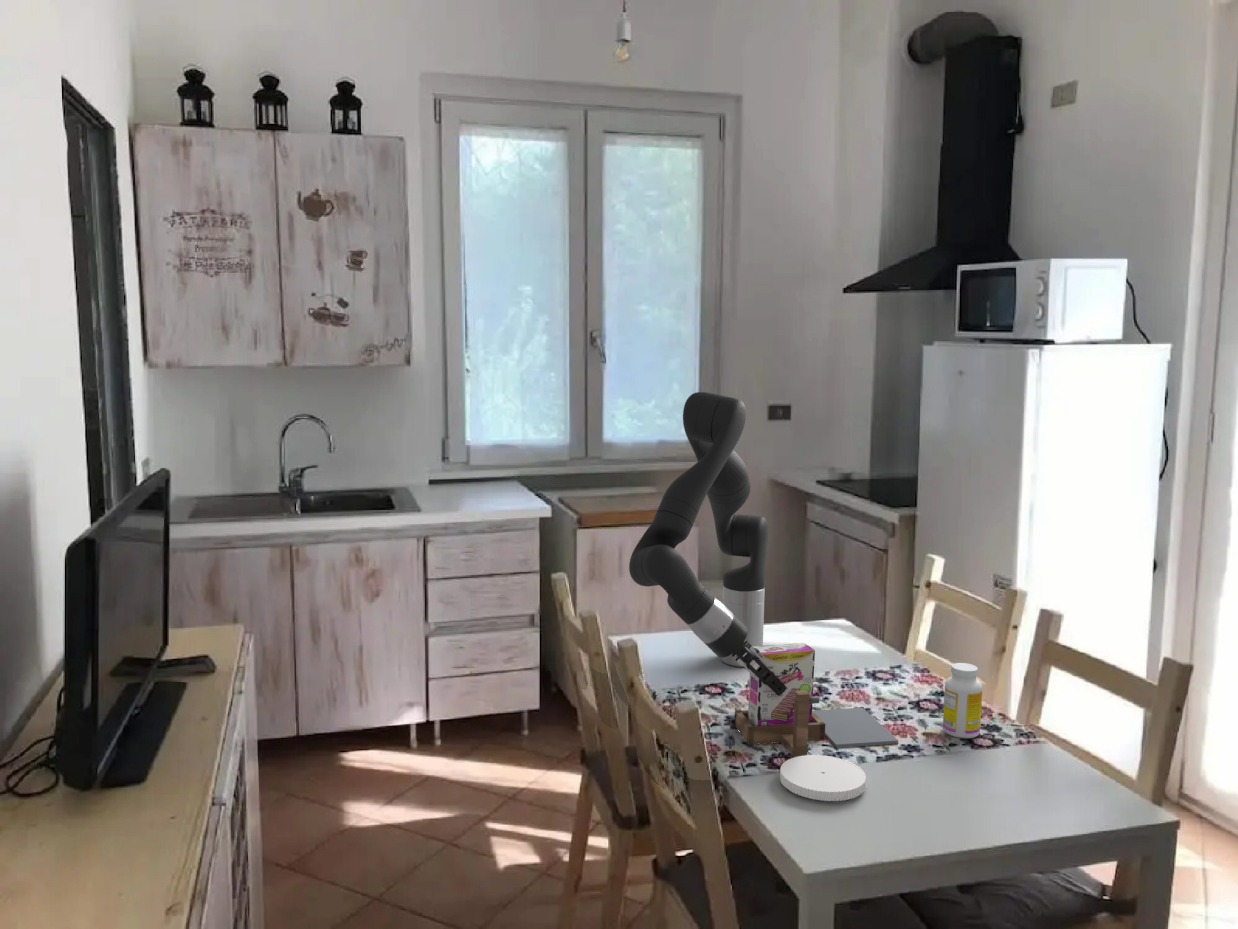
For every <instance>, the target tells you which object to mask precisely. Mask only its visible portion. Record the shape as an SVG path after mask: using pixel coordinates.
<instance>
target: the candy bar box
mask: <svg viewBox="0 0 1238 929" xmlns="http://www.w3.org/2000/svg"><path fill="white" fill-rule="evenodd" d="M753 648H754V649H755V650H756V653H757V654H758V655H759V656H760V657H761V658H762V659H763V660H764V661H765V662H766V666H767V667H768V668H769V669H770V670H771V671H773V672H774V673H775V676H776V677H777V678H778V679H779V680H780V681H781V682H782V683H783V684H784V685H785V686H786V690H785V691H784V692H783V693H782V694H781V695H780V696H778V695H777V694H776V693H775V692H774V691H773V690H772V689H771V688H770V687H769V686H768V685H765V684H763V683H762V681H761V680H760V679H759V678H758V677H757V676H753V675H752V674H751V673H750V672H749V688H748V691H749V692H748V710H749V711H748V721H749V723H750V724H751V725H752V726H768V725H784V724H793V723H794V697H795V691H799V690H806V691H807V692H808V693H809V694H810V697H814V680H815V679H814V675H815V658H816V657H815V656H816V649H814V648H813V647H811V646H809V645H807V644H806V643H804V642H798V643H795V642H794V643H784V644H782V643H781V644H770V645H763V646H754V647H753ZM766 673H767V671H766V672H765V673H764V674H763V675H762V678H763V676H764V675H765V674H766ZM812 711H813V704H809V723H812Z"/></svg>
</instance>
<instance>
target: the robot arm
mask: <svg viewBox="0 0 1238 929" xmlns="http://www.w3.org/2000/svg"><path fill="white" fill-rule="evenodd" d="M746 420H747V409H746V406H745V403H744V402H743V401H742V400H741V399H739V398H735V397H731V396H726V395H722V394H718V393H717V394H716V393H711V392H708V391H707V392H706V391H705V392H704V391H696V392H693V393H692V394H691V395H689V396H688V398H686V400H685V403H684V405H683V410H682V423H683V429H684V432H685V435H686V438H687V440H688V442H689V444H690V446H691V449H692V451H693V452H694V455H695V457H696V459H697V460H696V461H697V462H696V463H694V465H692V466H691V467H690V468H688V469H687V470H686V471H684V472H683V473H682V474H680V475H679V476H678V477H676V478H675V479H674V480H673V481H672V482H671V484H669V486H668V488H667V489H666V490H665V492H664V494H663V496H662V499H661V500H660V503H659V506H658V508H657V510H656V513H655V515H654V518H653V520H652V522H651V523H650V525H649V527H648V528H647V529H645V530H646V531H645V532H644V533H643V535H642V536H641V538H640V539H639V541H638V542H637V544H636V546H635V547H634V549H633V551H632V554H631V555H630V557H629V558H630V559H629V565H628V570H629V575H630V578H631V580H633V581H634V583H635V584H636V585H639V586H642V587H653V586H654V587H655V586H656V587H657V586H660V587H661V589H663V590H664V591H665V593H667V598H666V599H667V601H666V602H667V604H668V606H669V608H670V609H671V610H672V611H673V612H674V613H675V614H676V615H677V616H678V617H679V618H680V619H681V620H682V621H683V622H684V623H685V624H686V625H687V626H688V627H689V629H690V630H691V631H692V633H693V634H694V635H695V636H696V637H698V639H699V640H700V641H701V642H703V644H704V645H705V646H707V648H709V650H711V652H713V653H714V654H715V655H716V656H717V657H718V658H720V660H721V662H723V663H724V664H726V665H730V666H734V667H740V668H741V667H742V668H745V669H746V671H748V673H749V674H750V673H751V674H752V675H753V676H757V677H758V678H759V679H760V680H761V681H762V683H763V684H765V685H768V686H769V687H770V688H771V689H772V690H773V691H774V692H775V693H776V694H777V695H778V696H780V695H781V694H782V693H783V692H784V691H785V690H786V686H785V685H784V684H783V683H782V682H781V681H780V680H779V679H778V678H777V677H776V676H775V673H774V672H773V671H771V670H770V669H769V668H768V667H767V666H766V662H765V661H764V660H763V659H762V658H761V657H760V656H759V655H758V654H757V653H756V650H755V649H754V648H753V647H754V646H764V627H765V626H764V623H765V622H764V621H765V620H764V619H765V618H764V617H765V594H766V593H765V588H766V571H767V570H766V568H767V553H768V552H767V551H768V543H769V523H768V521H767V519H766V518H765V517H764V516H761V515H753V514H752V515H751V514H750V515H749V514H737V512H738V510H740V509H741V508H742V507H743V506H744V505H745V503H746V502H747V500H748V499H749V496H750V493H751V481H750V478H749V477H750V476H749V472H748V468H747V466H746V463H745V461H743V459H742V458H741V457H740V455H739V454H738V453H737V452H736V451H735V450H734V449H735V447H736V446H737V444H738V442H739V441H740V438H741V437H742V434H743V431H744V428H745V424H746ZM706 496H707V499H708V500H709V504H710V507H711V511H712V515H713V520H714V521H713V522H714V526H715V534H716V535H715V536H716V539H717V544H718V548H719V550H720V552H721V553H722V554H724V555H727V556H732V557H744V558H749V559H750V560H749V561H750V562H749V563H747V564H745V565H743V566H739V567H737V568H732V569H729V570H727V571H726V572H725V573H724V574H723V579H722V580H723V581H722V601H720V600H719V599H718V598H716V596H714V595H713V594H712V593H711V592H710V591H709V590H708V589H707V588H706V587H705V586H704V585H703V584H702V583H701V582H700V581H699V580H698V578H697V577H696V574H695V573H694V572H693V570H692V568H691V567H690V565H689V564H688V562H687V561H686V559H685V557H683V555H682V554H681V553H680V552H679V551H678V550H677V549H675V548H676V547H677V546H678V545H679V544H680V543H682V542H684V541H685V540H686V539H687V538H688V536H689V535H690V534H691V532H692V528H693V527H694V524H695V521H696V519H697V517H698V514H699V511H700V509H701V507H702V505H703V502H704V501H705V498H706ZM766 671H767V673H766V674H765V675H764V676H763V678H762V675H763V674H764V673H765V672H766Z"/></svg>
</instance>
